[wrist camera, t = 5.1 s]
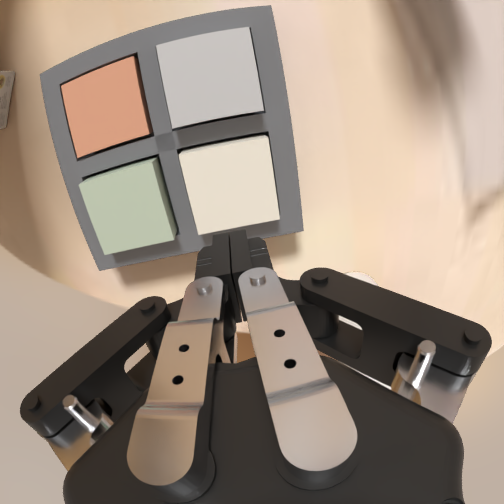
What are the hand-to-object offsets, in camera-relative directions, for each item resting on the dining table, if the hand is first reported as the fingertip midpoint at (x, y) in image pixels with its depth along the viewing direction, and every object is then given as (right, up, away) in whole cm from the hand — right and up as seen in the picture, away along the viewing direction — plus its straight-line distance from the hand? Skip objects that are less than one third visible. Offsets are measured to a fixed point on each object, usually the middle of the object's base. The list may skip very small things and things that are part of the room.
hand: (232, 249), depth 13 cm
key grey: (-2, +13, +5) cm, 14 cm away
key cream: (-1, +6, +10) cm, 11 cm away
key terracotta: (-11, +12, +6) cm, 17 cm away
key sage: (-9, +4, +10) cm, 14 cm away
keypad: (-6, +10, +10) cm, 15 cm away
